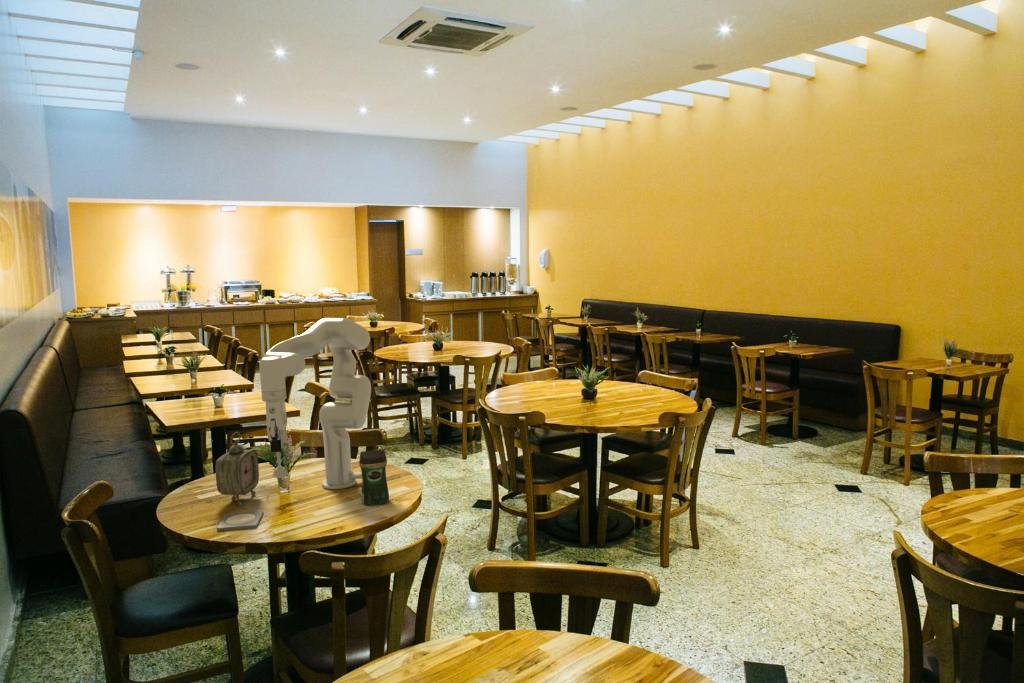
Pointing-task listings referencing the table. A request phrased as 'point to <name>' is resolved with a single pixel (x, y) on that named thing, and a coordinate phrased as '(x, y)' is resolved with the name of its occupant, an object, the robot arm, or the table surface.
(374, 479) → the coffee jar
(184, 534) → the table surface
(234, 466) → the tabletop clock
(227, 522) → the plate
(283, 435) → the chalice
